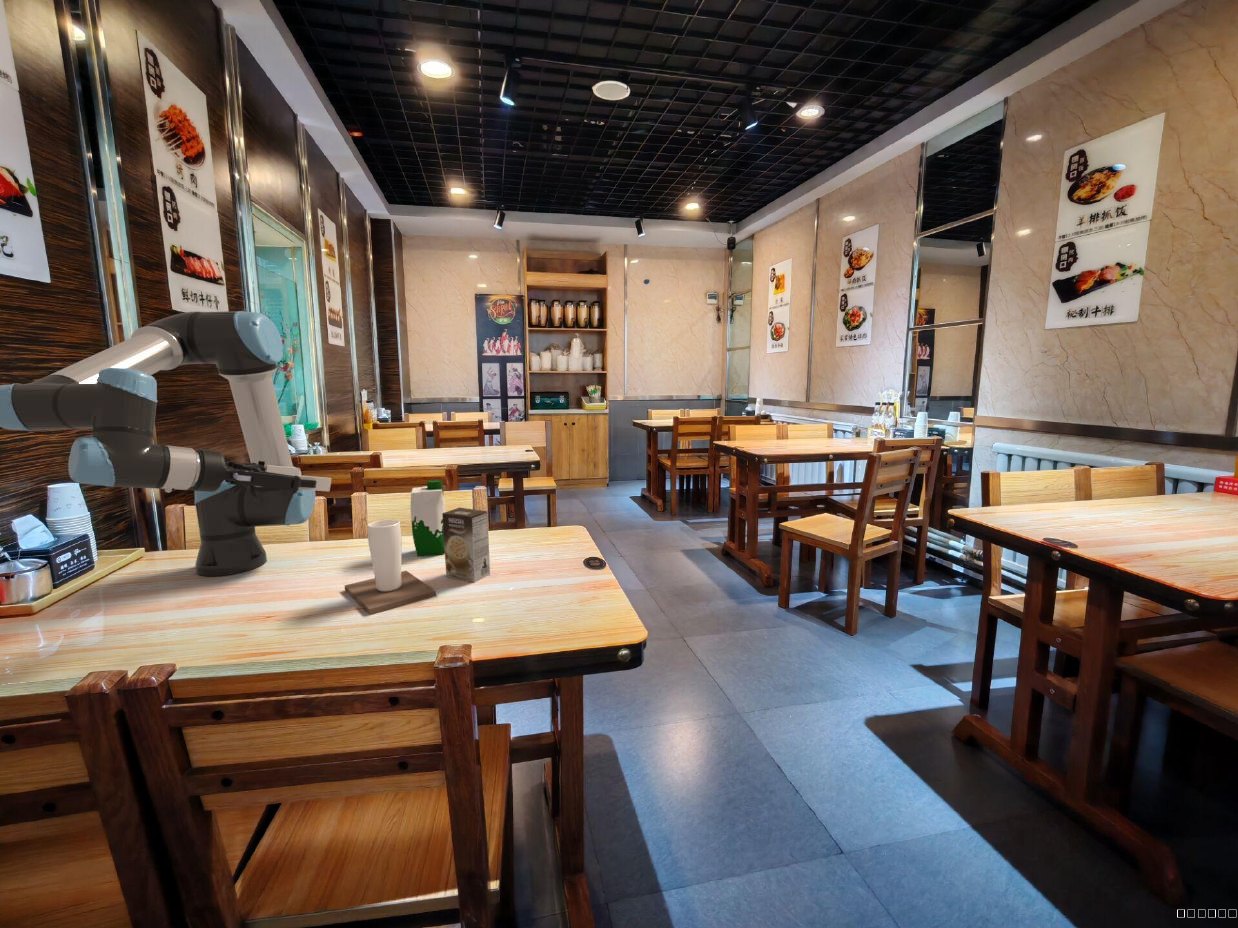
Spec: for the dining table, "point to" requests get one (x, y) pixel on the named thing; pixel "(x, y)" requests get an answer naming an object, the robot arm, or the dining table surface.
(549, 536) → the dining table surface
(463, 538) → the coffee box
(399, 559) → the drinking glass
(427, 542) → the milk carton
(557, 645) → the dining table surface
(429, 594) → the serving board
